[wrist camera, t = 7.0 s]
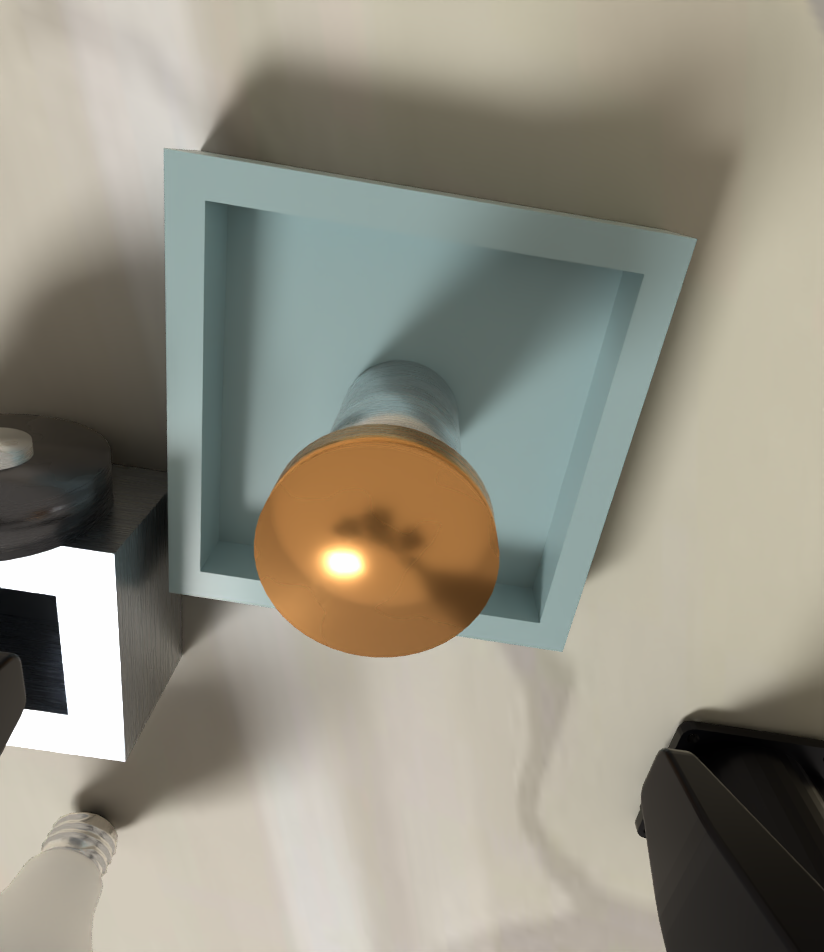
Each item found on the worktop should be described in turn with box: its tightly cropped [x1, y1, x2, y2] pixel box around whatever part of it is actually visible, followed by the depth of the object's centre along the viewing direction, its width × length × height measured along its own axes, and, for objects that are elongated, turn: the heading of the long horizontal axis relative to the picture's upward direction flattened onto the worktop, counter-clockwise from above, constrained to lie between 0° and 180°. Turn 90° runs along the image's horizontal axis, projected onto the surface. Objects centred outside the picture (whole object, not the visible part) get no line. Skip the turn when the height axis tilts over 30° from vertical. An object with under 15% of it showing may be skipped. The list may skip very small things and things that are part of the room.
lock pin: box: [254, 360, 499, 657], centre depth 16 cm, size 5×5×8 cm
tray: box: [164, 148, 697, 652], centre depth 20 cm, size 13×13×2 cm
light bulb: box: [0, 812, 118, 952], centre depth 25 cm, size 7×7×11 cm
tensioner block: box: [0, 414, 182, 762], centre depth 20 cm, size 8×10×6 cm
